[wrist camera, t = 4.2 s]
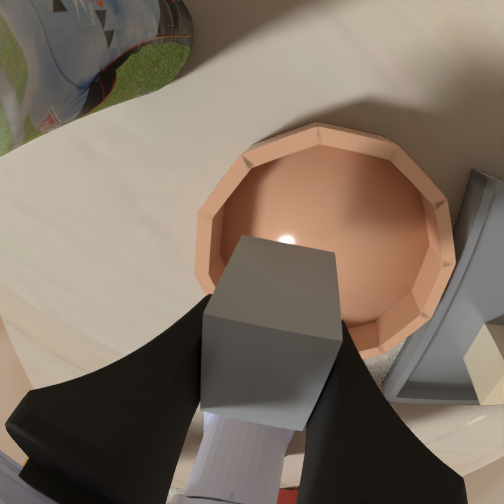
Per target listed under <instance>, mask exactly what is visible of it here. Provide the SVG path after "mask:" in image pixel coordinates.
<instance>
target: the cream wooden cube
mask: <svg viewBox="0 0 504 504" xmlns="http://www.w3.org/2000/svg"><path fill="white" fill-rule="evenodd" d="M463 359H464V362H465V364H466V367H467V369H468V372H469V375H470V377H471V380H472V383H473V386H474V388H475V391H476V394H477V397H478V400H479V403H480V405H499V404H504V326H502V325H495V324H488V323H484V324H483V326H482V328H481V330H480V331H479V333H478V335H477V336H476V338H475V340H474V341H473V343H472V345H471V346H470V348H469V350H468V351H467V353H466V354H465V356H464V357H463Z"/></svg>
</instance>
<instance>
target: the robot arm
mask: <svg viewBox="0 0 504 504" xmlns="http://www.w3.org/2000/svg"><path fill="white" fill-rule="evenodd" d="M211 296H212V294H208V295H206V296H205V297H204V298H203V299H202V300H201V301H200V302H199V303H198V304H197V305H195V306H194V307H193V308H192V309H191V310H190V311H189V312H188V313H186V314H185V315H184V316H183V317H182V318H180V319H179V320H178V321H177V322H175V323H174V324H173V325H172V326H171V327H169V328H168V329H167V330H165V331H164V332H163V333H161V334H160V335H158V336H157V337H156V338H154V339H153V340H151V341H150V342H148V343H147V344H145V345H144V346H142V347H141V348H139V349H137V350H136V351H134V352H132V353H131V354H129V355H127V356H125V357H124V358H122V359H120V360H118V361H116V362H114V363H112V364H110V365H108V366H106V367H103V368H101V369H99V370H97V371H95V372H92V373H89V374H87V375H84V376H81V377H79V378H76V379H73V380H70V381H67V382H63V383H60V384H56V385H52V386H48V387H44V388H40V389H35V390H30V391H29V392H28V393H27V394H26V396H25V397H24V398H23V399H22V400H21V402H20V403H19V405H18V406H17V407H16V409H15V410H14V412H13V413H12V414H11V416H10V417H9V419H8V420H7V422H6V423H5V426H6V430H7V432H8V433H9V435H10V436H11V437H12V439H13V440H14V441H15V442H16V443H17V445H18V446H19V447H20V448H21V449H22V450H23V451H24V453H25V454H26V455H27V456H28V457H29V459H28V460H27V462H26V464H25V465H24V467H23V466H22V465H20V464H19V463H17V462H16V461H14V460H13V459H12V458H10V457H9V456H7V455H6V454H5V453H3V452H2V451H1V450H0V504H174V503H171V502H168V503H166V500H167V496H168V493H169V489H170V486H171V483H172V479H173V476H174V472H175V469H176V466H177V463H178V459H179V456H180V453H181V450H182V447H183V444H184V441H185V437H186V434H187V431H188V428H189V426H190V423H191V421H192V418H193V416H194V414H195V412H196V409H197V407H198V405H199V403H200V400H201V355H202V326H203V312H204V310H205V308H206V306H207V304H208V302H209V300H210V298H211ZM341 322H342V337H343V341H342V344H341V346H340V349H339V351H338V354H337V356H336V359H335V361H334V363H333V366H332V368H331V370H330V373H329V375H328V377H327V380H326V382H325V384H324V386H323V389H322V391H321V393H320V395H319V397H318V400H317V402H316V404H315V406H314V408H313V410H312V412H311V414H310V416H309V419H308V421H307V423H306V446H305V456H304V462H303V468H302V474H301V480H300V486H299V491H298V496H297V501H296V504H468V502H467V495H466V488H465V483H464V479H463V478H462V477H461V476H460V475H459V474H457V473H456V472H455V471H454V470H452V469H451V468H450V467H448V466H447V465H446V464H445V463H443V462H442V461H441V460H440V459H439V458H438V457H437V456H435V455H434V454H433V453H432V452H431V451H430V450H429V449H428V448H427V447H426V446H425V445H424V444H423V443H422V442H421V441H420V440H419V439H418V438H417V437H416V436H415V435H414V433H413V432H412V431H411V430H410V429H409V428H408V427H407V426H406V424H405V423H404V422H403V421H402V420H401V418H400V417H399V416H398V415H397V413H396V412H395V411H394V409H393V408H392V407H391V405H390V404H389V403H388V401H387V400H386V398H385V397H384V395H383V394H382V392H381V391H380V389H379V387H378V386H377V384H376V383H375V381H374V379H373V378H372V376H371V374H370V372H369V371H368V369H367V367H366V365H365V363H364V361H363V359H362V358H361V356H360V354H359V352H358V350H357V348H356V346H355V344H354V342H353V339H352V337H351V335H350V333H349V331H348V329H347V327H346V324H345V322H344V321H343V320H341ZM294 432H295V430H291V429H285V428H279V427H273V426H268V425H262V424H257V423H252V422H247V421H242V420H238V419H233V418H229V417H225V416H220V415H216V414H212V413H208V412H204V425H203V438H202V441H201V444H200V447H199V450H198V453H197V456H196V459H195V462H194V465H193V468H192V471H191V474H190V477H189V480H188V483H187V486H186V489H185V492H184V494H183V496H180V495H179V496H178V498H177V500H176V503H175V504H277V500H278V494H279V488H280V481H281V475H282V469H283V462H284V455H285V451H286V449H287V447H288V445H289V443H290V441H291V439H292V437H293V435H294Z"/></svg>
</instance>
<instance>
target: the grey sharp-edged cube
mask: <svg viewBox="0 0 504 504" xmlns="http://www.w3.org/2000/svg"><path fill="white" fill-rule="evenodd" d="M342 341H343V337H342V322H341V309H340V297H339V286H338V276H337V267H336V257H335V252H330V251H325V250H320V249H315V248H309V247H304V246H299V245H294V244H289V243H283V242H278V241H273V240H268V239H262V238H257V237H252V236H247V235H242V236H241V238H240V240H239V242H238V244H237V246H236V248H235V250H234V252H233V254H232V256H231V258H230V260H229V262H228V264H227V266H226V268H225V270H224V272H223V274H222V276H221V278H220V280H219V282H218V284H217V286H216V288H215V290H214V292H213V294H212V296H211V298H210V300H209V302H208V304H207V306H206V308H205V310H204V312H203V326H202V355H201V400H200V411H204V412H208V413H212V414H216V415H220V416H225V417H229V418H233V419H238V420H242V421H247V422H252V423H257V424H262V425H268V426H273V427H279V428H285V429H291V430H298V431H303V429H304V427H305V425H306V423H307V421H308V419H309V416H310V414H311V412H312V410H313V408H314V406H315V404H316V402H317V400H318V397H319V395H320V393H321V391H322V389H323V386H324V384H325V382H326V380H327V377H328V375H329V373H330V370H331V368H332V366H333V363H334V361H335V359H336V356H337V354H338V351H339V349H340V346H341V344H342Z"/></svg>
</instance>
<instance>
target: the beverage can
mask: <svg viewBox="0 0 504 504" xmlns="http://www.w3.org/2000/svg"><path fill="white" fill-rule="evenodd" d="M192 40H193V26H192V20H191V16H190V14H189V11H188V9H187V7H186V6H185V4H184V3H183V1H182V0H0V156H2V155H5V154H6V153H8V152H10V151H12V150H14V149H16V148H18V147H19V146H21V145H23V144H25V143H27V142H29V141H31V140H33V139H35V138H37V137H39V136H41V135H44V134H46V133H48V132H50V131H52V130H54V129H56V128H59V127H61V126H63V125H65V124H68V123H70V122H72V121H75V120H77V119H80V118H82V117H84V116H87V115H89V114H92V113H95V112H97V111H100V110H102V109H105V108H108V107H110V106H113V105H116V104H119V103H122V102H125V101H127V100H130V99H133V98H136V97H139V96H143V95H146V94H149V93H152V92H155V91H157V90H159V89H161V88H163V87H164V86H165V85H167V84H168V83H170V82H171V81H172V80H173V79H174V78H175V77H176V76H177V75H178V73H179V72H180V71H181V69H182V68H183V66H184V64H185V62H186V61H187V59H188V56H189V53H190V50H191V46H192Z"/></svg>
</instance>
